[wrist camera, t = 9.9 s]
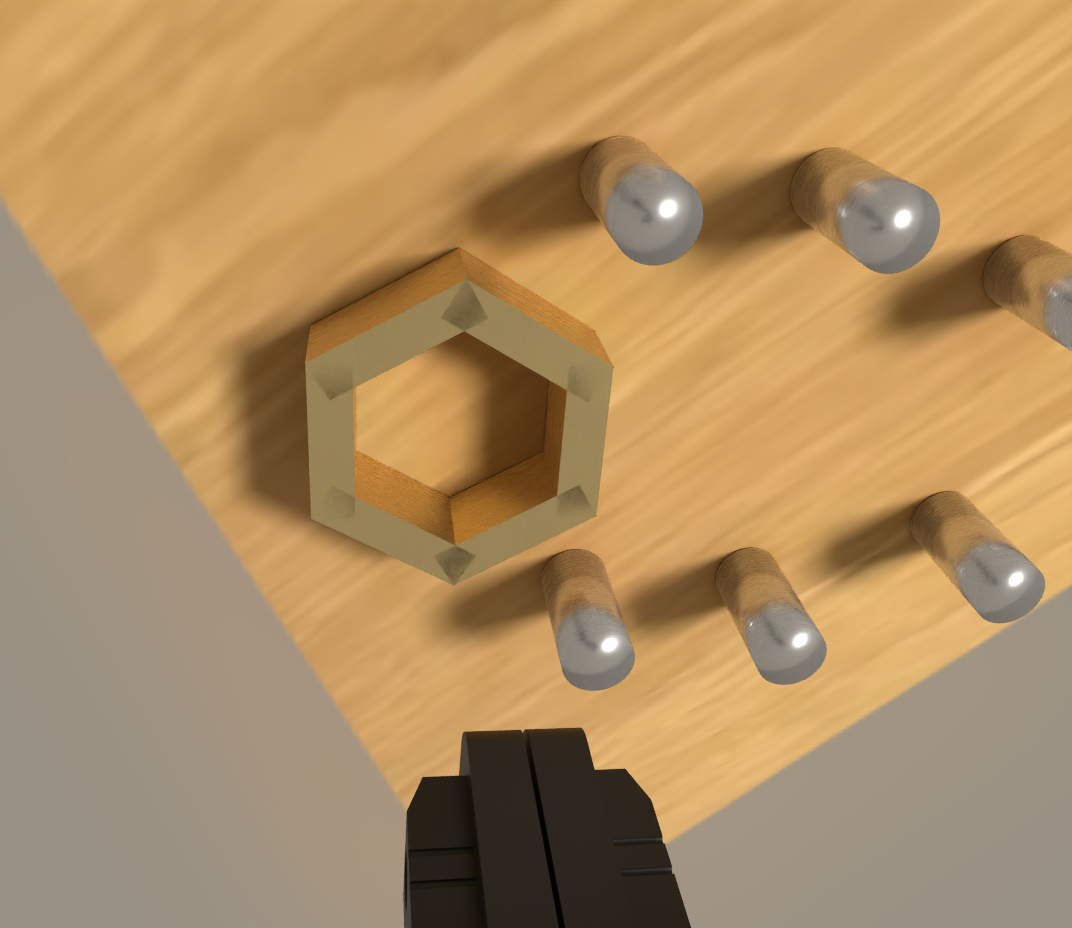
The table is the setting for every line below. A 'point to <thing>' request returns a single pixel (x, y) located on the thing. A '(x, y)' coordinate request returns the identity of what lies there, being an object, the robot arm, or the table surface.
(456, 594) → the table surface
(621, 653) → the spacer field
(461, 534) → the tan hexagonal ring
